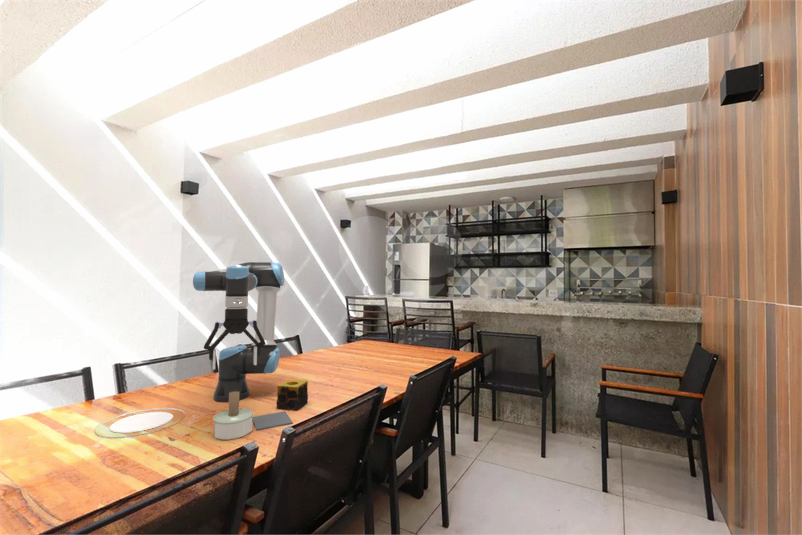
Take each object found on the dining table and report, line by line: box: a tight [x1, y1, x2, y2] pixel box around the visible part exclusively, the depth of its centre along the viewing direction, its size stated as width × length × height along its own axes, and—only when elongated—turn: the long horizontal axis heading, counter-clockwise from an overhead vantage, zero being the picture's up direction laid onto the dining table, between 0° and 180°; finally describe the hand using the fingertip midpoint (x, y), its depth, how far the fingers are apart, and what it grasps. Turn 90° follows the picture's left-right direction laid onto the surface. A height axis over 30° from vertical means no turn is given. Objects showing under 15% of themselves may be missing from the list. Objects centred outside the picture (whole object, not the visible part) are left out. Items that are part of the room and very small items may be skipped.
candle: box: [275, 379, 309, 411], centre depth 155 cm, size 10×10×10 cm
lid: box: [212, 391, 254, 424], centre depth 128 cm, size 13×13×9 cm
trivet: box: [252, 410, 294, 432], centre depth 138 cm, size 13×13×1 cm
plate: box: [94, 407, 186, 439], centre depth 136 cm, size 28×28×1 cm
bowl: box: [213, 416, 253, 441], centre depth 127 cm, size 12×12×6 cm
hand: (234, 366), depth 128 cm, fingers open, 13 cm apart
